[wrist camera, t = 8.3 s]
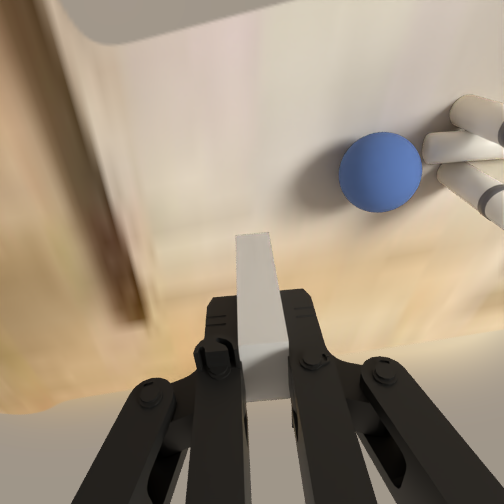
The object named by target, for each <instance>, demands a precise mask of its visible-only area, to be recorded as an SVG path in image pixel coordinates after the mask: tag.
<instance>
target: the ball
mask: <svg viewBox="0 0 504 504" xmlns="http://www.w3.org/2000/svg"><path fill="white" fill-rule="evenodd" d="M421 176H422V163H421V159H420V156H419V154H418V151H417V150H416V148H415V147H414V146H413V145H412V143H410V142H409V141H408V140H407V139H405V138H404V137H402V136H400V135H397V134H394V133H388V132H378V133H373V134H369V135H367V136H364V137H362V138H361V139H359V140H358V141H356V142H355V143H354V144H353V145H352V146H351V147H350V148H349V149H348V150H347V152H346V153H345V155H344V156H343V158H342V161H341V164H340V168H339V182H340V187H341V189H342V192H343V193H344V195H345V197H346V198H347V199H348V200H349V201H350V202H351V203H352V204H353V205H355V206H356V207H358V208H360V209H362V210H365V211H369V212H386V211H390V210H393V209H395V208H398V207H399V206H401V205H403V204H404V203H405V202H407V201H408V200H409V199H410V198H411V197H412V195H413V194H414V193H415V191H416V190H417V188H418V186H419V183H420V180H421Z"/></svg>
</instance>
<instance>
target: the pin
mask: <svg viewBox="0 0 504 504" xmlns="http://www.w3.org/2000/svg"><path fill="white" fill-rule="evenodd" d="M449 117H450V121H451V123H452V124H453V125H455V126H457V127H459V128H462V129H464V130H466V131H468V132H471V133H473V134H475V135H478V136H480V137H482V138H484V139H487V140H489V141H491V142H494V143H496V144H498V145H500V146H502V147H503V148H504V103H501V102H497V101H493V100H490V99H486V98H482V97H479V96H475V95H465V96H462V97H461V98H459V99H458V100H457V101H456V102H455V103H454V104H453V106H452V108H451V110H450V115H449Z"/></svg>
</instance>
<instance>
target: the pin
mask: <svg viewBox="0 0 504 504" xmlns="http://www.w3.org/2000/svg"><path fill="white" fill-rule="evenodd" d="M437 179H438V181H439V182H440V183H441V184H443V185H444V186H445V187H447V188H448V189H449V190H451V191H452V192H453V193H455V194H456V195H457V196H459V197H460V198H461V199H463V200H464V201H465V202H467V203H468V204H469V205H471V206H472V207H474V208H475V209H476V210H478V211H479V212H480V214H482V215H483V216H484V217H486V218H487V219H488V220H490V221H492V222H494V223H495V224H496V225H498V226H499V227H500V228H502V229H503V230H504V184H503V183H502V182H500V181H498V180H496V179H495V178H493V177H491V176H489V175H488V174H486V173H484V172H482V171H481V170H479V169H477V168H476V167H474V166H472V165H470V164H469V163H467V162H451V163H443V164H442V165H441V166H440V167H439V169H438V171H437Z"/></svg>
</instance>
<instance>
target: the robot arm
mask: <svg viewBox="0 0 504 504" xmlns="http://www.w3.org/2000/svg"><path fill="white" fill-rule="evenodd" d="M236 272H237V295H235V296H224V297H213V298H212V300H211V302H210V303H209V305H208V306H207V314H206V327H205V337H204V339H203V340H202V341H200V342H199V344H198V345H197V346H196V347H195V350H194V353H193V354H194V359H195V363H196V367H197V370H196V371H195V372H193V373H192V374H191V375H189V376H188V377H185V378H183V379H181V380H178V381H176V382H173V383H170V382H169V381H168V380H166V379H162V378H151V379H148V380H145V381H143V382H141V383H140V384H139V385H137V386H136V387H135V388H134V389H133V391H132V392H131V393H130V395H129V397H128V399H127V401H126V402H125V404H124V406H123V408H122V410H121V412H120V413H119V415H118V418H117V419H116V421H115V423H114V425H113V426H112V428H111V430H110V432H109V434H108V436H107V438H106V439H105V442H104V443H103V445H102V447H101V449H100V451H99V453H98V454H97V457H96V458H95V460H94V462H93V464H92V466H91V468H90V469H89V471H88V473H87V475H86V477H85V479H84V481H83V482H82V484H81V486H80V488H79V490H78V492H77V494H76V496H75V497H74V499H73V501H72V503H71V504H170V502H171V499H172V496H173V493H174V490H175V486H176V484H177V480H178V478H179V475H180V472H181V469H182V466H183V462H184V460H185V457H186V454H187V450H188V448H189V447H191V450H190V461H189V471H188V482H187V492H186V504H252V503H251V481H250V459H249V439H248V417H247V410H246V402H254V401H266V400H277V399H288V398H291V403H292V428H294V432H295V438H296V445H297V451H298V458H299V464H300V471H301V477H302V484H303V490H304V496H305V503H306V504H377V501H376V497H375V494H374V491H373V487H372V484H371V481H370V478H369V474H368V471H367V468H366V465H365V461H364V458H363V455H362V451H361V448H360V445H359V442H358V438H357V435H358V436H359V438H360V440H361V442H362V444H363V445H364V447H365V449H366V451H367V452H368V454H369V456H370V458H371V459H372V461H373V463H374V465H375V466H376V468H377V470H378V472H379V473H380V475H381V477H382V479H383V480H384V482H385V484H386V486H387V487H388V489H389V491H390V493H391V494H392V496H393V498H394V500H395V501H396V503H397V504H504V488H503V487H502V485H501V484H500V483H499V482H498V480H497V479H496V478H495V477H494V476H493V474H492V473H491V472H490V471H489V470H488V468H487V467H486V466H485V465H484V464H483V462H482V461H481V460H480V459H479V457H478V456H477V455H476V454H475V453H474V451H473V450H472V449H471V448H470V447H469V445H468V444H467V443H466V442H465V441H464V439H463V438H462V437H461V436H460V435H459V433H458V432H457V431H456V430H455V428H454V427H453V426H452V425H451V424H450V422H449V421H448V420H447V419H446V418H445V416H444V415H443V414H442V413H441V412H440V410H439V409H438V408H437V407H436V405H435V404H434V403H433V402H432V401H431V400H430V398H429V397H428V396H427V395H426V393H425V392H424V391H423V390H422V389H421V387H420V386H419V385H418V384H417V383H416V381H415V380H414V379H413V378H412V376H411V375H410V374H409V373H408V372H407V370H406V369H405V368H404V367H403V366H402V365H401V364H399V363H398V362H397V361H395V360H392V359H390V358H387V357H381V356H379V357H372V358H370V359H368V360H366V361H365V362H364V364H363V365H359V364H353V363H348V362H344V361H341V360H339V359H337V358H336V357H334V356H333V355H332V354H331V353H330V352H329V351H328V350H327V348H326V346H325V343H324V340H323V336H322V333H321V329H320V326H319V323H318V319H317V316H316V313H315V309H314V306H313V302H312V299H311V296H310V295H309V294H308V293H307V292H306V291H305V290H304V289H292V290H281V291H279V286H278V280H277V275H276V269H275V264H274V258H273V253H272V247H271V242H270V236H269V232H267V233H256V234H245V235H236ZM356 433H357V435H356Z"/></svg>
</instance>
